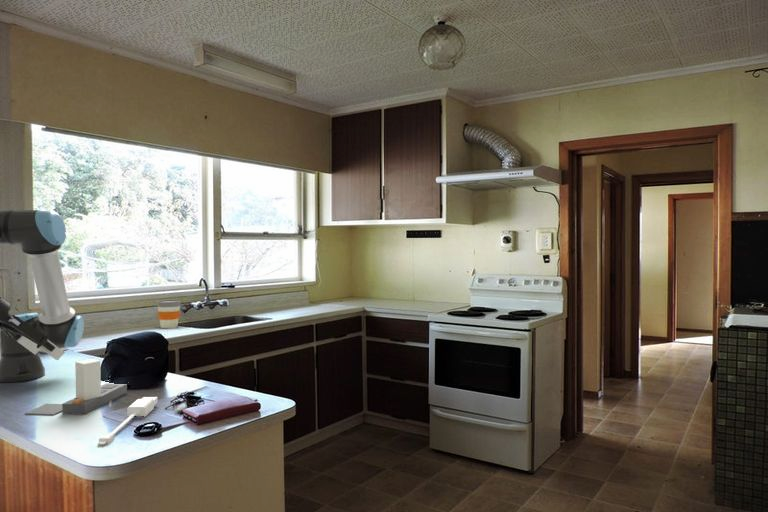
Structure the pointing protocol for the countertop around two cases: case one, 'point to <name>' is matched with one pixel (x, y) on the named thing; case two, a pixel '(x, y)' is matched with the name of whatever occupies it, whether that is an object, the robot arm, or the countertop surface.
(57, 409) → the mat
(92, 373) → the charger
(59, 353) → the robot arm
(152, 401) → the charging cable
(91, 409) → the strip
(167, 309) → the reusable coffee cup
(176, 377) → the countertop surface
